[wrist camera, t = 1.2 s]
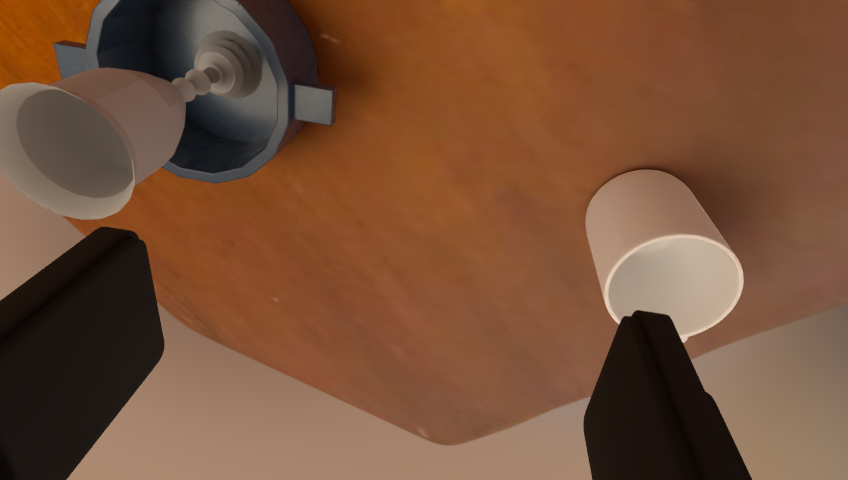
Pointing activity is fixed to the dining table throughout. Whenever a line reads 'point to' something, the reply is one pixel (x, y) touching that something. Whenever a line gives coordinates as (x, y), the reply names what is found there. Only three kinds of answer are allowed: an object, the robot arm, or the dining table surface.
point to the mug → (661, 252)
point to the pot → (210, 114)
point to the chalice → (110, 127)
